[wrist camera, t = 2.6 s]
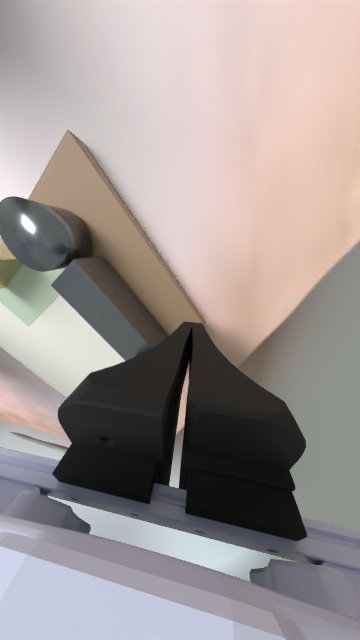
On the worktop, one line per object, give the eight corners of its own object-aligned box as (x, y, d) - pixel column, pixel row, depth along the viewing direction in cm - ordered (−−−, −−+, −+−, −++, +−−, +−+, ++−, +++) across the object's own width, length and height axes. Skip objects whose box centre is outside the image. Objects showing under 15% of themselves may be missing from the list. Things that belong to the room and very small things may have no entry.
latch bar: (35, 232, 9) (-43, 227, 6) (61, 194, 8) (-20, 166, 5) (149, 357, 13) (132, 391, 10) (178, 342, 12) (169, 376, 9)
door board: (72, 390, 19) (65, 397, 18) (-25, 313, 15) (-40, 317, 15) (204, 321, 12) (204, 328, 11) (83, 142, 8) (67, 129, 7)
